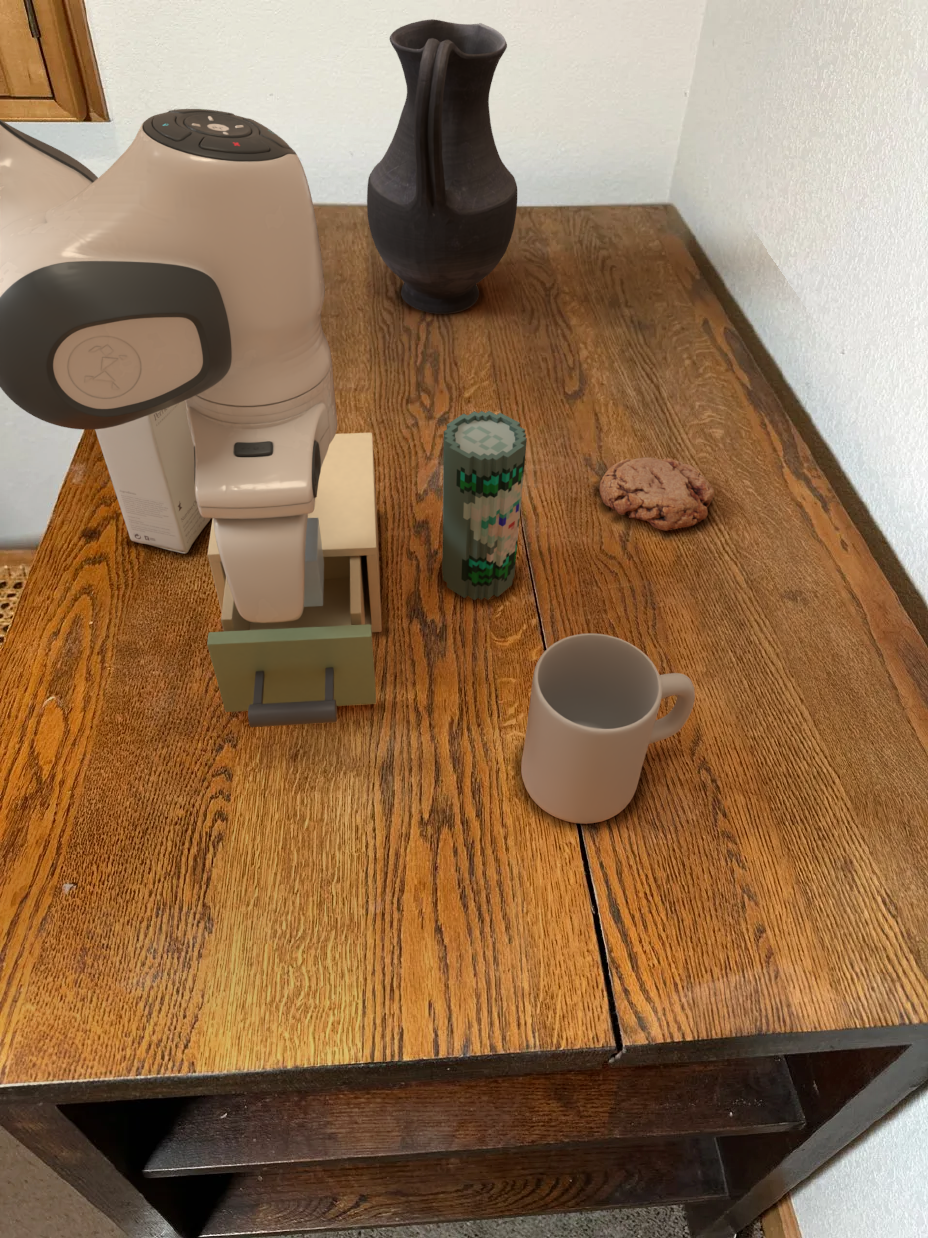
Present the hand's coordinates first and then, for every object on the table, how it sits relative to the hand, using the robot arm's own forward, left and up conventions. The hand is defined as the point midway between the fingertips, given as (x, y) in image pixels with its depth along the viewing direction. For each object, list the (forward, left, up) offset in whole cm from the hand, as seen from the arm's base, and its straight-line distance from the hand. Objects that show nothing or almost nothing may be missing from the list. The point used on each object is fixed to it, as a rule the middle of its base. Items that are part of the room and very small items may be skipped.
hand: (288, 570), depth 67 cm
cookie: (+33, +19, -11) cm, 40 cm away
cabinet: (0, +11, -11) cm, 16 cm away
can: (+15, +10, -11) cm, 21 cm away
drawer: (0, 0, -10) cm, 10 cm away
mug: (+22, -11, -11) cm, 27 cm away
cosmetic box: (-12, +19, -11) cm, 25 cm away
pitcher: (+15, +58, -11) cm, 61 cm away
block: (0, 0, -2) cm, 2 cm away
